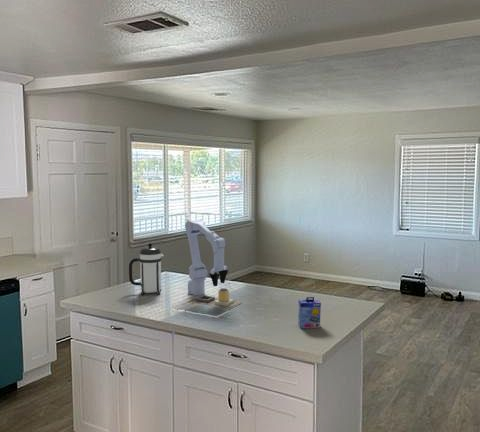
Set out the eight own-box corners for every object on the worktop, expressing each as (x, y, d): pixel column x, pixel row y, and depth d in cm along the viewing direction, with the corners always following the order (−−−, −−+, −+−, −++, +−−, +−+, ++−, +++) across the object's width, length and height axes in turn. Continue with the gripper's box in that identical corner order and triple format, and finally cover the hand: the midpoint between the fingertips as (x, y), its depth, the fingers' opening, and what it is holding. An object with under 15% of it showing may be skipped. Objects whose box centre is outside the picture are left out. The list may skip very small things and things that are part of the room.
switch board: (187, 303, 264) (187, 301, 263) (201, 297, 276) (201, 295, 276) (228, 310, 251) (228, 308, 251) (241, 303, 263) (241, 301, 263)
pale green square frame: (214, 304, 259) (214, 301, 259) (221, 300, 266) (221, 298, 265) (226, 306, 255) (226, 303, 255) (233, 302, 262) (233, 299, 262)
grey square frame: (195, 301, 265) (195, 298, 265) (203, 297, 271) (203, 295, 271) (207, 302, 261) (207, 300, 261) (214, 299, 268) (214, 296, 268)
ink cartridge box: (299, 328, 222) (300, 298, 221) (297, 324, 228) (297, 294, 226) (320, 328, 223) (321, 297, 222) (318, 324, 229) (318, 294, 227)
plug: (218, 303, 260) (218, 289, 259) (222, 301, 263) (222, 287, 262) (224, 304, 258) (224, 290, 257) (228, 302, 261) (228, 288, 261)
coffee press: (152, 288, 297) (152, 240, 294) (168, 292, 286) (168, 243, 283) (128, 293, 285) (127, 243, 282) (144, 298, 274) (143, 246, 271)
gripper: (218, 263, 255) (218, 288, 256) (231, 258, 267) (231, 282, 269) (207, 261, 258) (207, 286, 260) (221, 257, 271) (221, 280, 272)
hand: (218, 284), depth 264 cm, fingers open, 7 cm apart
